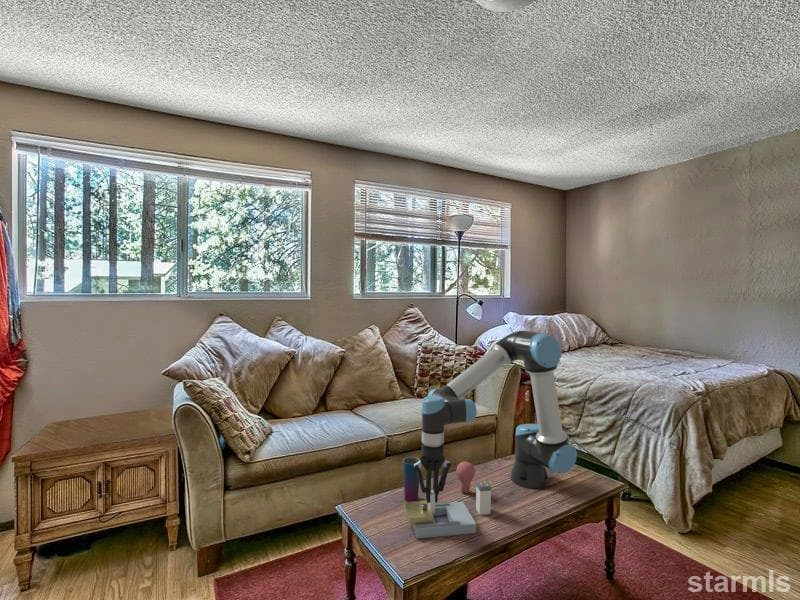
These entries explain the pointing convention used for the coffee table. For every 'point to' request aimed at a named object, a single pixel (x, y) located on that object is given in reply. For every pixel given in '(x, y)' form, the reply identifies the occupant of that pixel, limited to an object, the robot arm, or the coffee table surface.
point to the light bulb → (465, 475)
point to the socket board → (447, 521)
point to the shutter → (418, 512)
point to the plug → (483, 497)
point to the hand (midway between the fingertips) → (431, 511)
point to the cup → (410, 479)
